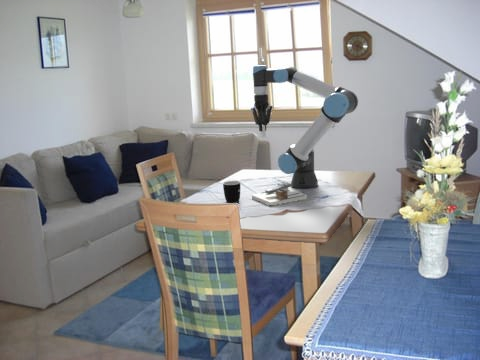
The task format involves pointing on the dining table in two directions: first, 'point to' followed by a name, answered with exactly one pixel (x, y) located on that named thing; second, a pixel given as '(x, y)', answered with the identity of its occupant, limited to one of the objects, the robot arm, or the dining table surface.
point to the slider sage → (281, 184)
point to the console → (273, 200)
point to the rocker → (277, 188)
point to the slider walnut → (282, 194)
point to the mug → (232, 191)
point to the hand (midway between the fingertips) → (263, 136)
